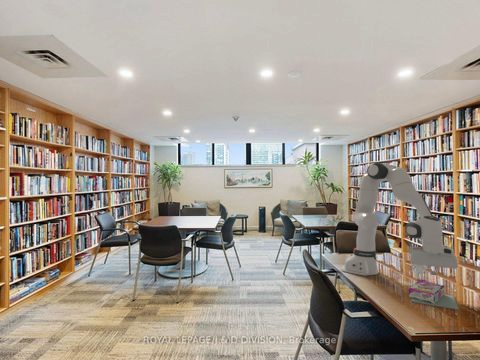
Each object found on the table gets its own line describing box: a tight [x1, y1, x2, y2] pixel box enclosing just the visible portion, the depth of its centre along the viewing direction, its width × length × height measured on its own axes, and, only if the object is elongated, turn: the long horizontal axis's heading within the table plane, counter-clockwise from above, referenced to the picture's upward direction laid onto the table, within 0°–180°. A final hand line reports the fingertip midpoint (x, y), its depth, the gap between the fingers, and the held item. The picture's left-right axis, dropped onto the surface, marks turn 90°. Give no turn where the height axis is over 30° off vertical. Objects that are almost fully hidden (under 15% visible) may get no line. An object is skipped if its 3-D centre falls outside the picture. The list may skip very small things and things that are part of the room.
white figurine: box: [410, 262, 429, 281], centre depth 164 cm, size 9×4×12 cm, turn 56°
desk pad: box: [410, 293, 460, 311], centre depth 135 cm, size 18×17×1 cm
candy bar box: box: [408, 279, 445, 304], centre depth 137 cm, size 11×5×16 cm
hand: (433, 274), depth 143 cm, fingers closed
